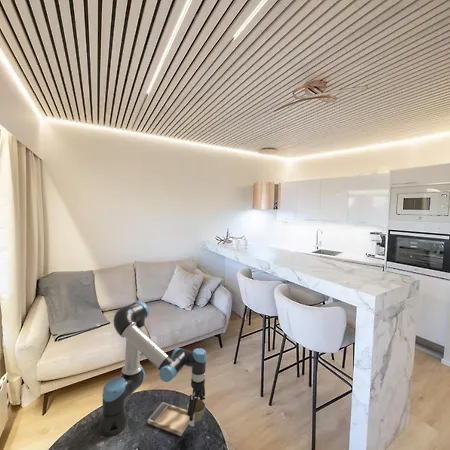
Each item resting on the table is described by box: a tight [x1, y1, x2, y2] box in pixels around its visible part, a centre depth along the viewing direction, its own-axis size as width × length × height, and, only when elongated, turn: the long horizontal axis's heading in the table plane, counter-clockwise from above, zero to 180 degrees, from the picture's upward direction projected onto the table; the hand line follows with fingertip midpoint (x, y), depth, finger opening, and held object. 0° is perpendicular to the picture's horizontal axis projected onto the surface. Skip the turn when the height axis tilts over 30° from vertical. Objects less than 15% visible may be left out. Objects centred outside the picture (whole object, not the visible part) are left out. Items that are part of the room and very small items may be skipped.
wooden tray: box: [147, 401, 189, 437], centre depth 142 cm, size 22×14×3 cm
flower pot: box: [186, 398, 206, 423], centre depth 135 cm, size 10×10×7 cm
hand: (195, 417), depth 135 cm, fingers closed on flower pot, 10 cm apart
